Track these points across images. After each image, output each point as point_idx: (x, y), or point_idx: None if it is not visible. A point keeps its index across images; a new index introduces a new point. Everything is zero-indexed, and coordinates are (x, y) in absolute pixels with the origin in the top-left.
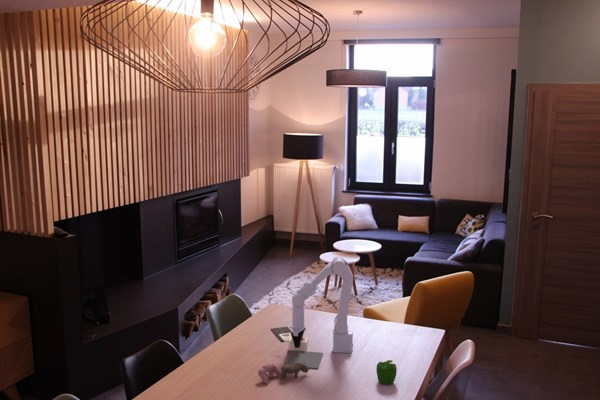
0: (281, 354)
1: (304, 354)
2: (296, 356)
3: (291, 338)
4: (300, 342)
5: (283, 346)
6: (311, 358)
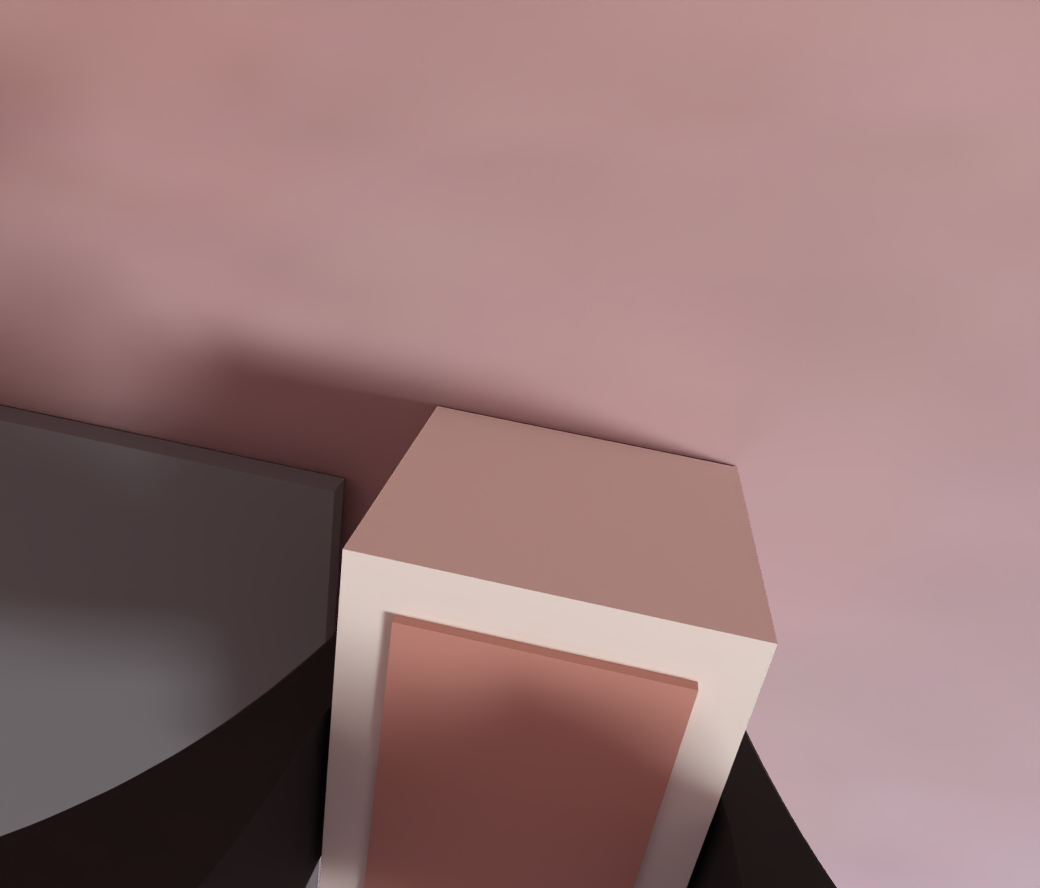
0: (104, 207)
1: (154, 735)
2: (5, 580)
3: (564, 671)
4: (327, 854)
5: (709, 255)
6: (7, 818)
